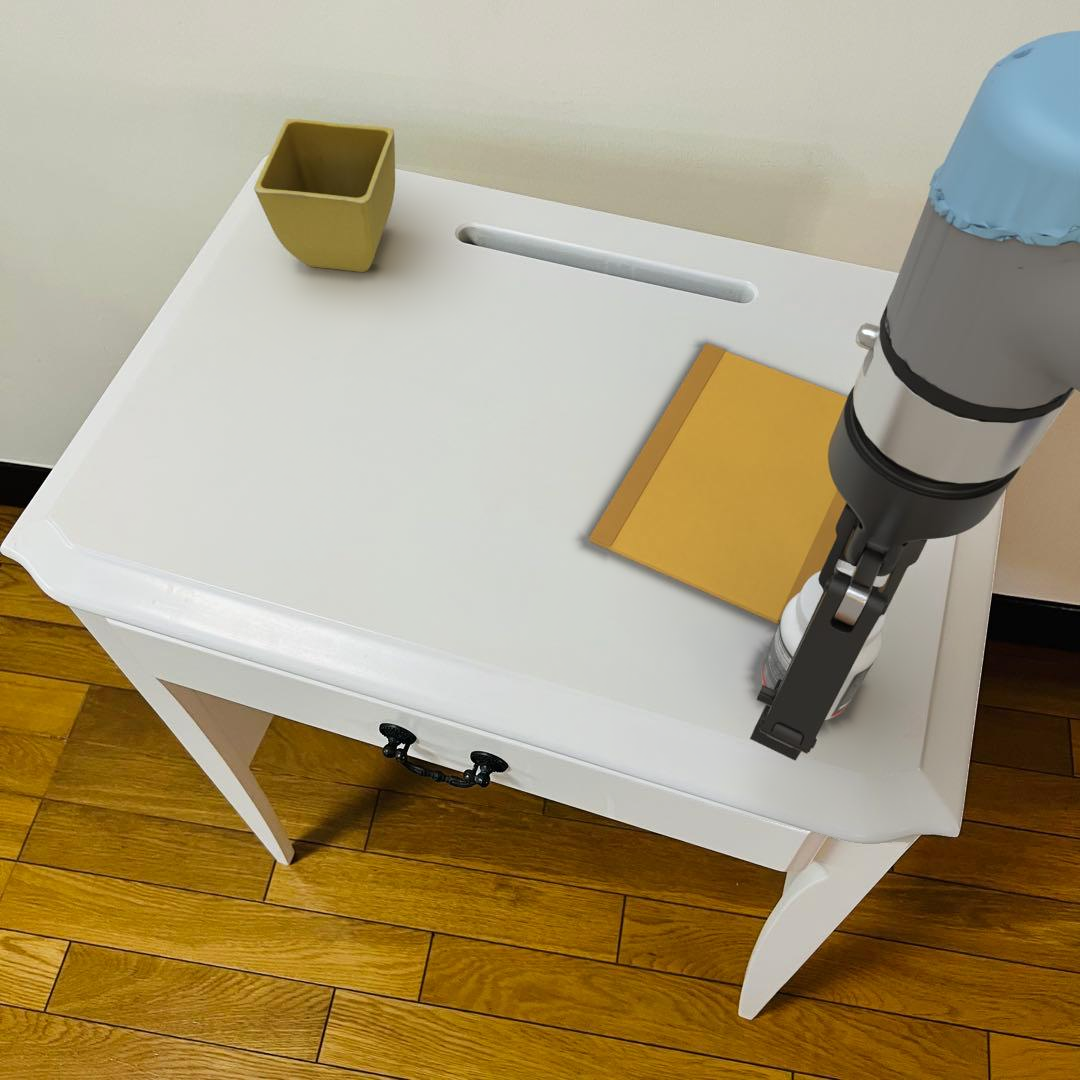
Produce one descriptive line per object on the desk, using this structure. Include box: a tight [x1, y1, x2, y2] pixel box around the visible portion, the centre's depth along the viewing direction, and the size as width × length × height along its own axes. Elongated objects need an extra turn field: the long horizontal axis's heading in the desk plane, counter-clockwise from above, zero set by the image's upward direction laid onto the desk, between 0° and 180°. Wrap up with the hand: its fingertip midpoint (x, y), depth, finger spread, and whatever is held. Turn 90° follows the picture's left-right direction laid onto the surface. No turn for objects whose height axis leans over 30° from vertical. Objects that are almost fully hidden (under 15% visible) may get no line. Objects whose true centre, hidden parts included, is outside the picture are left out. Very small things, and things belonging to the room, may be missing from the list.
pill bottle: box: [761, 567, 888, 721], centre depth 61 cm, size 6×6×10 cm
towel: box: [589, 343, 848, 625], centre depth 73 cm, size 15×20×1 cm
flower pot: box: [253, 118, 396, 273], centre depth 82 cm, size 9×9×9 cm
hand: (816, 647), depth 61 cm, fingers open, 13 cm apart
